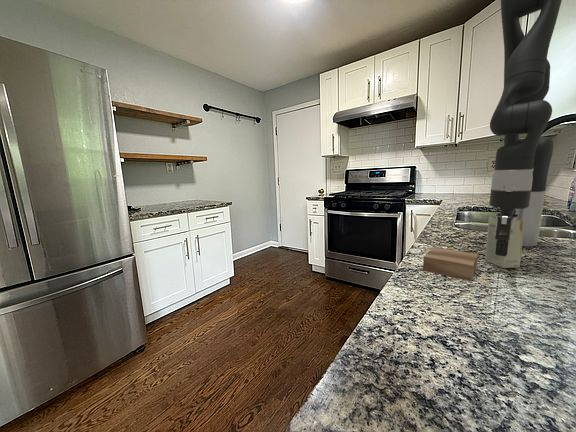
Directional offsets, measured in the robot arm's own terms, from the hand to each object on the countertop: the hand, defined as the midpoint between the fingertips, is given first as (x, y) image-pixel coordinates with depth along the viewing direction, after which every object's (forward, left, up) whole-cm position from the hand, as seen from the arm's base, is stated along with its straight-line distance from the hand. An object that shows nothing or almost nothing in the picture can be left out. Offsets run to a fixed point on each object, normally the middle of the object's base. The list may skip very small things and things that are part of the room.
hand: (502, 251), depth 65 cm
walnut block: (+12, -9, -4) cm, 15 cm away
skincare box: (0, 0, -4) cm, 4 cm away
